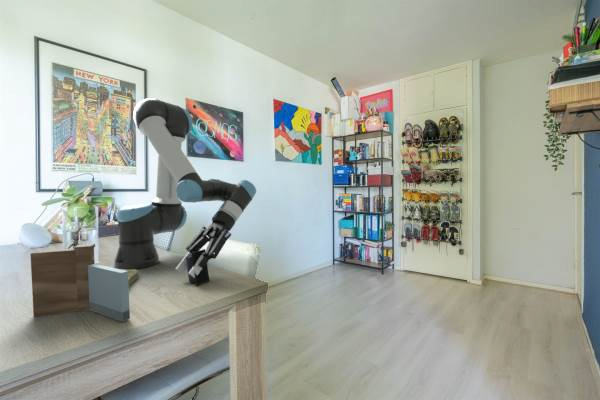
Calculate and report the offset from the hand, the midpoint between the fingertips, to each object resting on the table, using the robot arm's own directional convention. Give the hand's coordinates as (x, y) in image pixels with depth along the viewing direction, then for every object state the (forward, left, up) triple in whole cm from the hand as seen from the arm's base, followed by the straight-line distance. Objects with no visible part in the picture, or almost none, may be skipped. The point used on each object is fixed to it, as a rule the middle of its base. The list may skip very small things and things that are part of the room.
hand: (185, 273), depth 86 cm
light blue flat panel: (+15, -17, -3) cm, 23 cm away
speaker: (-1, +3, -4) cm, 5 cm away
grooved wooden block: (+8, -27, -3) cm, 28 cm away
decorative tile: (-7, -25, -4) cm, 26 cm away
